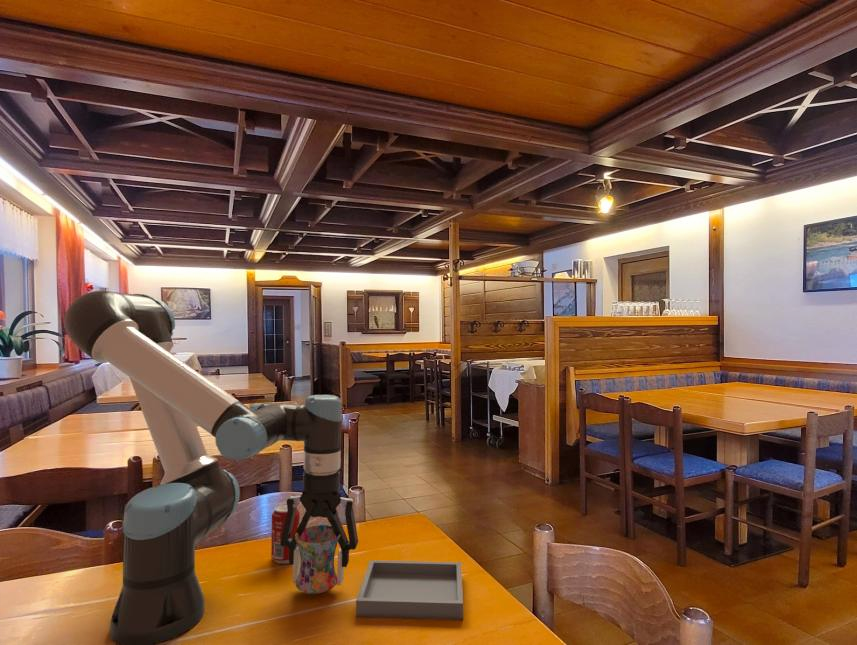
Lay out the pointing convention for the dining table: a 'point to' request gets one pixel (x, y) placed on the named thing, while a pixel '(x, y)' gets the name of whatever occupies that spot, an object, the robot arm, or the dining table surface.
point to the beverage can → (278, 521)
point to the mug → (317, 559)
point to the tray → (411, 590)
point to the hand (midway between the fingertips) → (318, 580)
